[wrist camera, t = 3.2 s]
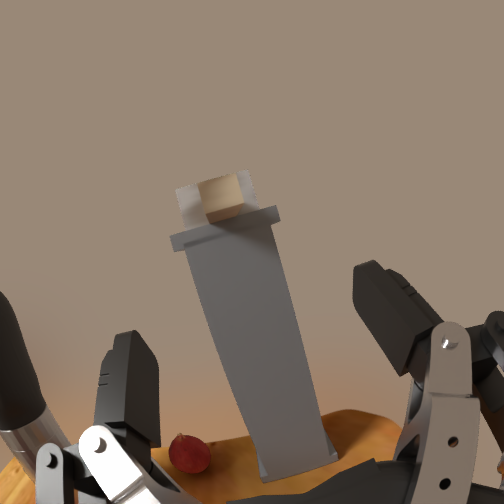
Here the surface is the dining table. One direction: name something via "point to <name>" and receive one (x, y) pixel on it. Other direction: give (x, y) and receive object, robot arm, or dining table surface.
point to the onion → (189, 454)
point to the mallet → (216, 199)
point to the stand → (258, 340)
